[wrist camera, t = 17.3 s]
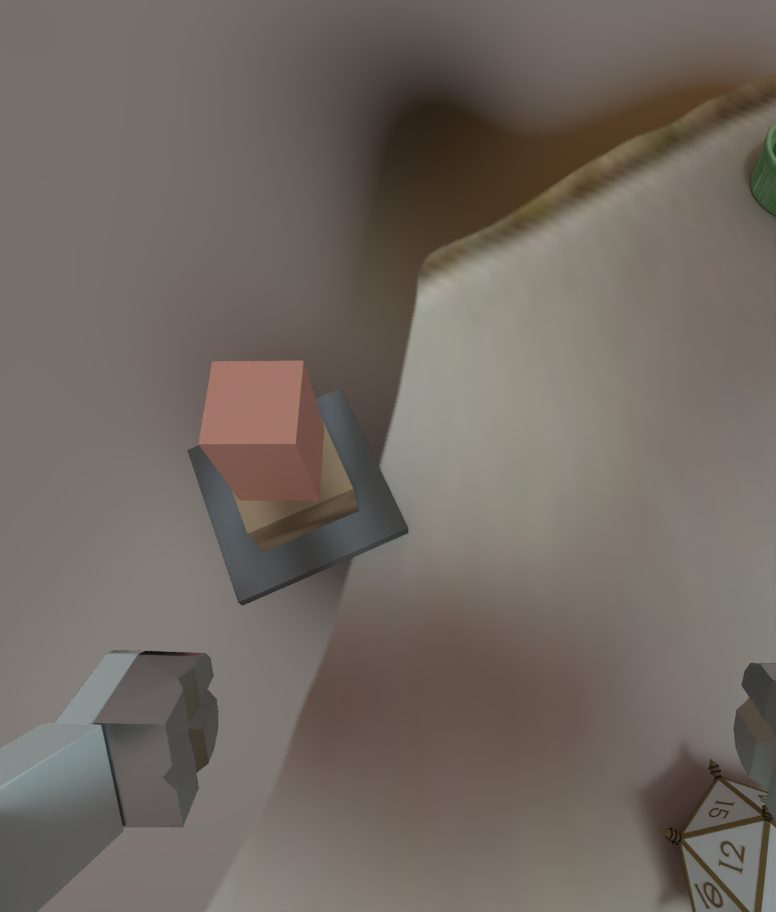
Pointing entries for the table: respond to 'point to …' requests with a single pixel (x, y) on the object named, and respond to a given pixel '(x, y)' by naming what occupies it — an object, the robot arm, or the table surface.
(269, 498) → the red block
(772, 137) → the ramekin
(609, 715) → the table surface
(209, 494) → the tower base
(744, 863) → the game die
